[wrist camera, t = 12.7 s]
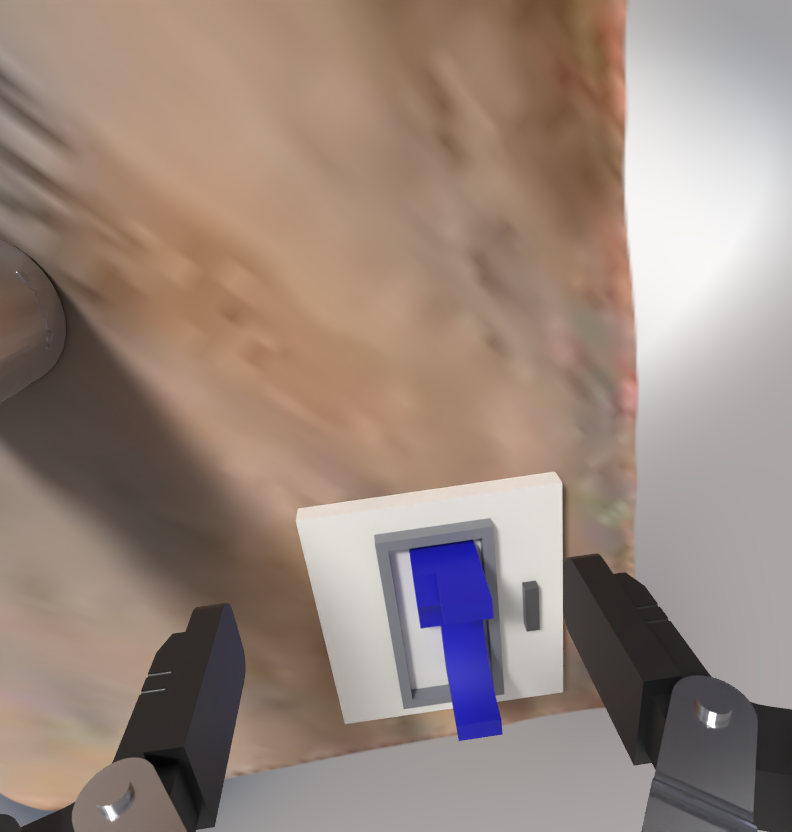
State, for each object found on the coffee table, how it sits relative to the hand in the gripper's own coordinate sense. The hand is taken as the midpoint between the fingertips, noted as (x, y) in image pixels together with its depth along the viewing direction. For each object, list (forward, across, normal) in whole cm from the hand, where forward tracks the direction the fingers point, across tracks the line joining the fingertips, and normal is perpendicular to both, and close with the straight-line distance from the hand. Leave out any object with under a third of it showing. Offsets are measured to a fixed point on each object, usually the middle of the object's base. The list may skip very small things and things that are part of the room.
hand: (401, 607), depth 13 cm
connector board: (+22, -3, +21) cm, 31 cm away
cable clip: (+21, -4, +20) cm, 30 cm away
